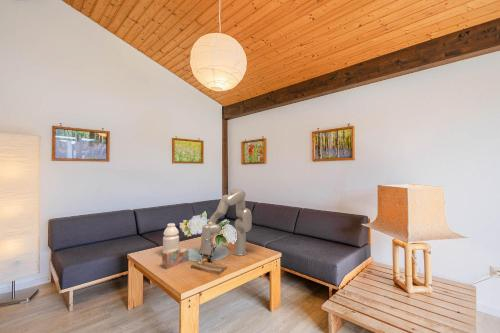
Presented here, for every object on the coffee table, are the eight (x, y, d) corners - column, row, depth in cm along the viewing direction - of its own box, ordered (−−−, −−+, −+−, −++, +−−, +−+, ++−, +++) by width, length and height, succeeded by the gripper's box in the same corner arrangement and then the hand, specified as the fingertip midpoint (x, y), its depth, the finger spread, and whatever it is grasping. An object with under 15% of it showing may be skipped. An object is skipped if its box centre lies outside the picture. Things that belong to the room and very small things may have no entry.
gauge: (205, 261, 197) (205, 254, 197) (210, 262, 195) (210, 255, 195) (196, 267, 186) (196, 259, 186) (201, 268, 184) (201, 260, 184)
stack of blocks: (183, 258, 203) (183, 244, 202) (188, 260, 199) (188, 246, 199) (161, 267, 185) (162, 251, 185) (166, 269, 181) (166, 253, 181)
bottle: (159, 257, 205) (159, 225, 205) (168, 251, 218) (169, 221, 218) (173, 259, 201) (173, 226, 201) (182, 253, 215) (182, 222, 214)
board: (199, 262, 194) (199, 260, 194) (226, 268, 184) (226, 266, 184) (190, 267, 184) (190, 265, 184) (219, 274, 174) (219, 271, 174)
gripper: (217, 240, 194) (217, 262, 194) (200, 237, 201) (200, 258, 201) (212, 243, 187) (212, 265, 187) (195, 240, 194) (195, 262, 194)
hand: (206, 262), depth 194 cm, fingers closed on gauge, 5 cm apart
